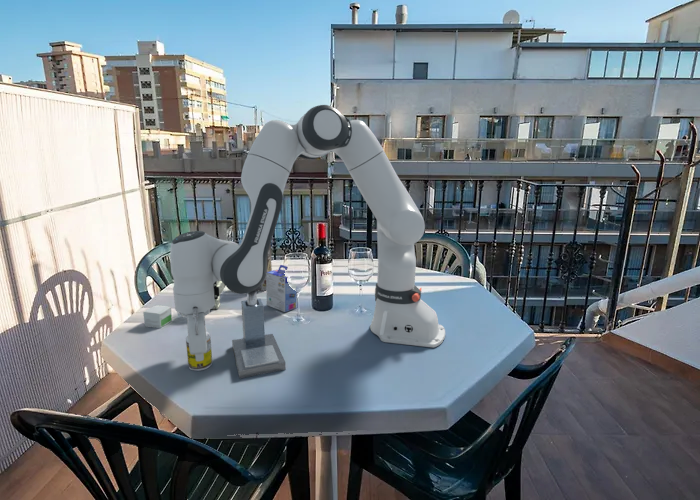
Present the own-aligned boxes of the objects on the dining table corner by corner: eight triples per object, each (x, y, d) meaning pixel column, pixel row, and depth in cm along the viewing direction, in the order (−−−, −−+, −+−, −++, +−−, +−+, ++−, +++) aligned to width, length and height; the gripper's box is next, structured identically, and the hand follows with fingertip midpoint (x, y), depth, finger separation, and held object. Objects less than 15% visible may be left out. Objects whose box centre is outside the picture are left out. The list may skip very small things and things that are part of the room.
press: (285, 369, 93) (284, 320, 90) (239, 378, 89) (236, 328, 86) (272, 340, 107) (271, 297, 104) (232, 346, 103) (229, 302, 100)
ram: (264, 329, 100) (263, 285, 97) (244, 332, 98) (242, 287, 95) (261, 321, 105) (259, 279, 102) (242, 324, 103) (239, 281, 100)
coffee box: (267, 290, 145) (266, 250, 141) (251, 290, 145) (249, 249, 141) (272, 282, 154) (271, 244, 150) (257, 282, 154) (255, 244, 150)
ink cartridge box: (297, 308, 130) (297, 267, 126) (285, 313, 125) (284, 271, 122) (278, 301, 135) (276, 262, 132) (266, 305, 131) (264, 265, 128)
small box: (160, 328, 113) (159, 313, 112) (144, 326, 114) (142, 311, 113) (173, 320, 118) (171, 306, 117) (157, 318, 119) (155, 304, 118)
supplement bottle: (183, 368, 92) (179, 330, 90) (199, 357, 97) (196, 321, 95) (201, 374, 90) (198, 335, 88) (217, 362, 95) (214, 325, 93)
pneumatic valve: (202, 314, 123) (199, 279, 120) (211, 301, 134) (209, 268, 131) (219, 314, 123) (217, 279, 120) (227, 300, 135) (225, 268, 132)
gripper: (211, 315, 81) (215, 372, 85) (207, 284, 100) (211, 332, 103) (179, 319, 79) (185, 377, 82) (181, 287, 97) (186, 336, 101)
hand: (199, 352), depth 93 cm, fingers closed on supplement bottle, 6 cm apart
